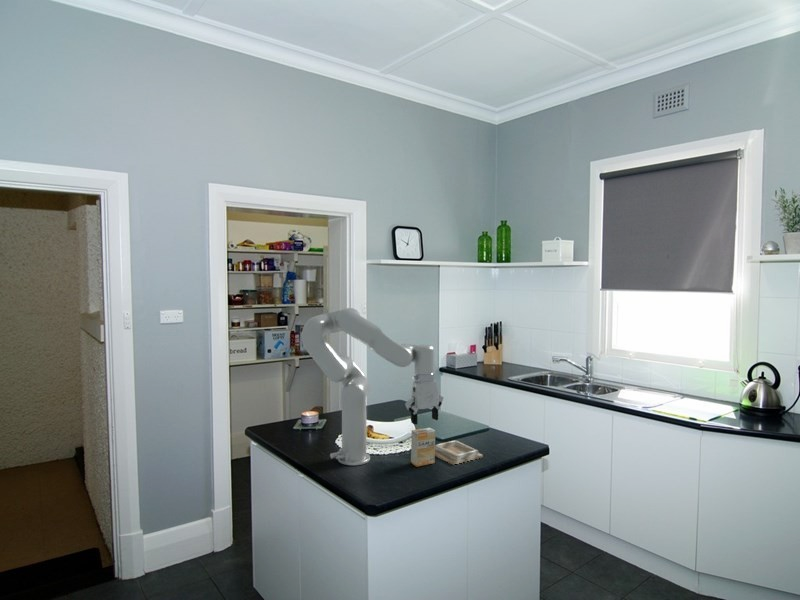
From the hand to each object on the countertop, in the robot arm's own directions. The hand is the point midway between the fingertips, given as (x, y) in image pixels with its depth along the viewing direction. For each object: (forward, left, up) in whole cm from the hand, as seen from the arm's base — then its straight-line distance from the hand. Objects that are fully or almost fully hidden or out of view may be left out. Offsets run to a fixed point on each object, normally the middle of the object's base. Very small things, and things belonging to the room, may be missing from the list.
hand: (424, 421), depth 192 cm
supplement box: (0, 0, -17) cm, 17 cm away
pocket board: (+16, 0, -17) cm, 23 cm away
